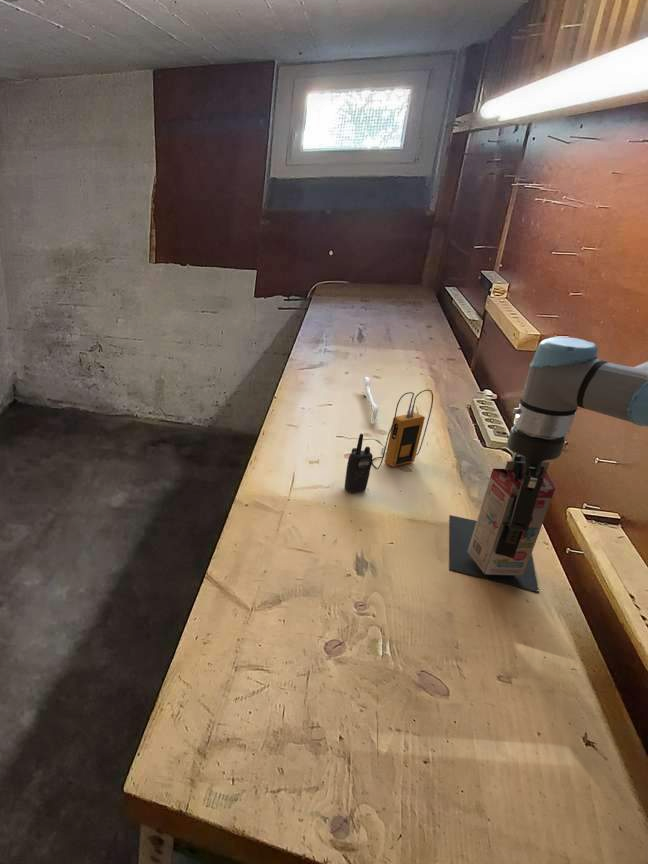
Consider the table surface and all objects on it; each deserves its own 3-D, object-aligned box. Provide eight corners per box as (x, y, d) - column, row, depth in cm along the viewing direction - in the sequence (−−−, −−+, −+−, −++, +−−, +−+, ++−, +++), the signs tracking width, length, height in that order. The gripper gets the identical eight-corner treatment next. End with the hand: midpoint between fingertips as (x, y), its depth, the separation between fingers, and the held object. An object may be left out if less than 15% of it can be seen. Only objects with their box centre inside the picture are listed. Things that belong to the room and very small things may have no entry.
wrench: (359, 391, 186) (362, 374, 183) (366, 391, 185) (369, 374, 183) (370, 427, 162) (374, 408, 159) (378, 427, 161) (382, 409, 159)
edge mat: (527, 532, 116) (527, 531, 116) (538, 592, 100) (539, 592, 100) (449, 515, 122) (449, 514, 122) (449, 570, 107) (449, 569, 107)
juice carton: (467, 551, 109) (497, 452, 99) (503, 552, 108) (538, 452, 99) (484, 574, 103) (518, 471, 94) (523, 575, 103) (561, 471, 93)
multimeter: (396, 443, 153) (411, 374, 144) (425, 460, 144) (443, 388, 135) (351, 453, 149) (364, 383, 140) (379, 471, 140) (394, 397, 131)
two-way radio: (348, 494, 131) (358, 437, 124) (337, 485, 135) (347, 429, 128) (369, 491, 132) (380, 434, 125) (358, 481, 136) (368, 426, 129)
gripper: (506, 403, 104) (476, 506, 113) (518, 453, 87) (481, 568, 97) (556, 410, 100) (520, 515, 110) (579, 463, 84) (534, 581, 93)
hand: (502, 540), depth 103 cm, fingers closed on juice carton, 8 cm apart
